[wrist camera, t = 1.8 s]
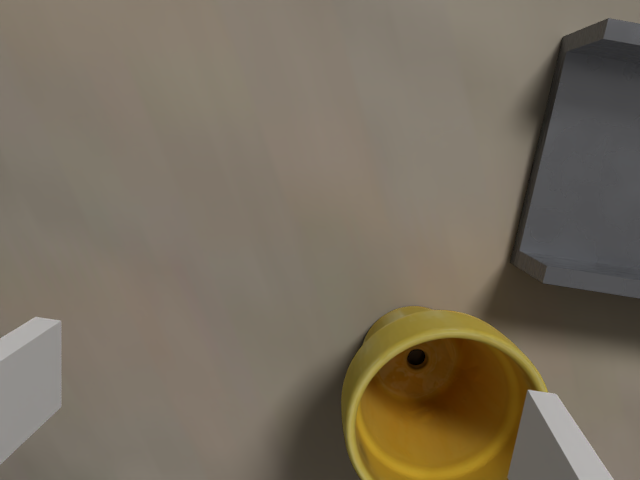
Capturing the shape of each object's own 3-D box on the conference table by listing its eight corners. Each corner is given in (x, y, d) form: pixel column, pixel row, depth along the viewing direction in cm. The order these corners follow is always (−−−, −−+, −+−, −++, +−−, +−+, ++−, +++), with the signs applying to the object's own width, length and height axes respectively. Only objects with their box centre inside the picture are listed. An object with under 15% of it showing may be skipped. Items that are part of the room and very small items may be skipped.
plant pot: (511, 298, 35) (586, 358, 25) (463, 438, 37) (517, 544, 27) (358, 259, 34) (376, 307, 25) (318, 404, 36) (320, 500, 27)
